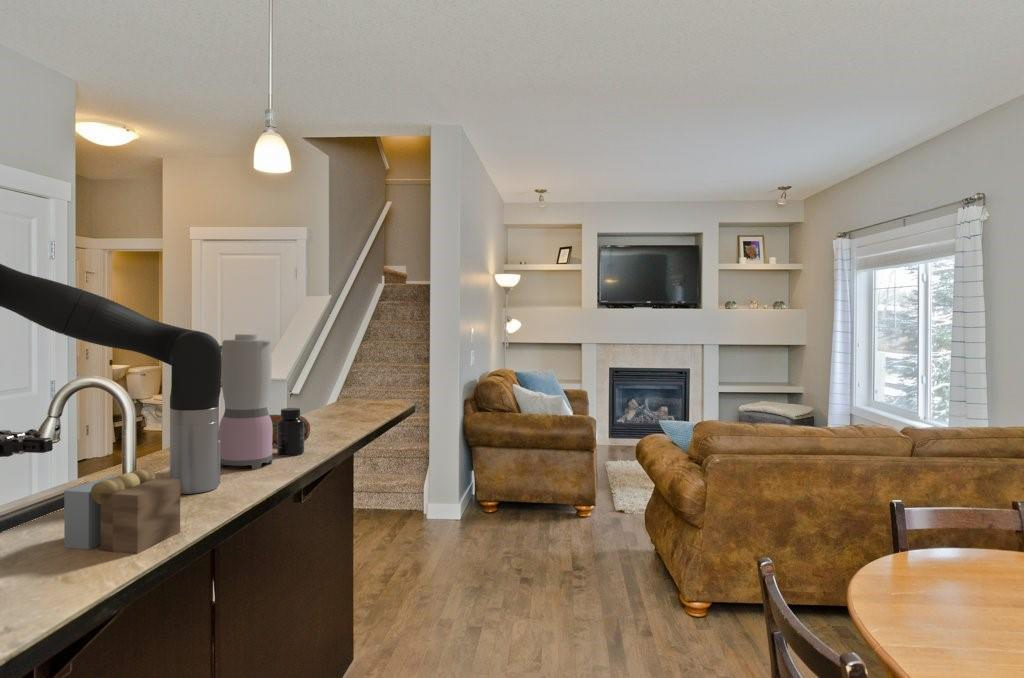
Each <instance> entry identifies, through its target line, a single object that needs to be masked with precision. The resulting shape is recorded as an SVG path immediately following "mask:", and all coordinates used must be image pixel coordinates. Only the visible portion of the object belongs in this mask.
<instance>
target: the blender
mask: <svg viewBox="0 0 1024 678" xmlns="http://www.w3.org/2000/svg"><path fill="white" fill-rule="evenodd" d="M221 343H222V345H219V346H220V349H221V391H222V398H223V401H224V412H223V415H222V418H221V419H220V420H219V440H220V442H221V457H220V468H223V465H226V466H240V467H241V466H251V470H253V469H254V470H258V469H257V468H260V469H261V468H262V464H263V463H268V464H269V465H271V464H270V463H272V464H273V454H274V453H273V444H272V434H273V428H272V420H271V418H270V416H269V415H270V414H269V411H268V400H269V396H270V391H271V385H272V348H271V347H272V343H271V341H270V340H269V339H259V334H256V333H253V334H252V333H251V334H250V333H242V334H241V333H240V334H237V333H236V334H235V335H234V339H223V340H222V341H221Z"/></svg>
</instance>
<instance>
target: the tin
mask: <svg viewBox="0 0 1024 678" xmlns="http://www.w3.org/2000/svg"><path fill="white" fill-rule="evenodd" d="M269 416H270V418H271V420H272V428H273V434H272V443H277V422H278V421H279V420H280V419H282V417H281V414H269ZM299 418H301V419H302V420H303V421H304V442H305V441H307V440H308V438H309V436H310V433H311V424H310V422H309V421H308V420H307V418H306V417H304V416H302V415H300V416H299Z"/></svg>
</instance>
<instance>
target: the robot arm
mask: <svg viewBox="0 0 1024 678" xmlns="http://www.w3.org/2000/svg"><path fill="white" fill-rule="evenodd" d="M0 308H3V309H6V310H9V311H11V312H13V313H15V314H17V315H19V316H20V317H23V318H25V319H26V320H29V321H30V322H33V323H35V324H37V325H39V326H41V327H43V328H45V329H47V330H50V331H52V332H55V333H57V334H61V335H63V336H67V337H70V338H73V339H76V340H79V341H83V342H86V343H90V344H93V345H98V346H103V347H108V348H113V349H118V350H123V351H130V352H135V353H138V354H141V355H145V356H148V357H150V358H153V359H155V360H157V361H160V362H162V363H164V364H167V365H169V366H170V367H171V372H170V373H171V376H170V378H171V379H170V380H171V383H170V384H171V386H170V387H171V388H170V395H169V479H180V495H188V494H189V495H191V494H199V493H200V494H201V493H205V492H210V491H213V490H216V489H217V488H219V485H220V484H221V467H220V457H221V442H220V440H219V425H220V418H219V417H220V396H221V391H222V388H221V356H222V353H221V349H220V346H221V345H220V343H219V342H218V341H217V339H216V338H214V337H213V336H212V335H211V334H209V333H207V332H204V331H199V330H193V329H188V328H183V327H180V326H175V325H171V324H168V323H164V322H160V321H157V320H155V319H153V318H150V317H147V316H145V315H143V314H141V313H139V312H137V311H135V310H133V309H131V308H129V307H127V306H126V305H123V304H121V303H118V302H116V301H115V300H112V299H109V298H107V297H103V296H101V295H99V294H95V293H93V292H90V291H87V290H84V289H81V288H78V287H74V286H71V285H68V284H66V283H61V282H59V281H54V280H52V279H48V278H45V277H40V276H36V275H33V274H28V273H24V272H22V271H19V270H16V269H13V268H11V267H9V266H7V265H4V264H2V263H0ZM53 445H54V444H53V439H52V438H51V437H41V433H40V432H38V430H37V429H29V430H26V431H24V432H23V431H22V432H21V431H11V430H10V429H2V430H0V458H1V457H2V458H5V457H7V458H8V457H11V456H13V455H23V454H26V453H29V454H30V453H31V454H45V453H48V452H52V451H53V450H54V446H53Z"/></svg>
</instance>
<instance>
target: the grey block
mask: <svg viewBox="0 0 1024 678" xmlns="http://www.w3.org/2000/svg"><path fill="white" fill-rule="evenodd" d="M114 477H116V478H119V479H121V480H122V481H123V483H124V485H125V489H128V488H131V487H134V486H137V485H139V484H140V480H139V478H138V476H137V475H136V474H134V473H129V472H125V473H123V474H120V475H118V474H117V475H116V474H113V475H110V476H106V477H103V478H100V479H97V480H93V481H90V482H88V483H85V484H81V485H77V486H75V487H72V488H68V489H66V490H64V492H63V493H64V497H63V498H64V503H63V504H64V510H63V511H64V515H63V516H64V518H63V520H64V521H63V522H64V523H63V524H64V529H63V530H64V536H63V537H64V548H66V549H75V550H76V549H77V550H91V549H93V548H95V547H97V546H99V545H100V546H101V504H98V503H96V502H95V501H94V500H93V499H92V497H91V488H92V486H93V485H94V484H96V483H98V482H101V481H104V480H107V479H110V478H114Z"/></svg>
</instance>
